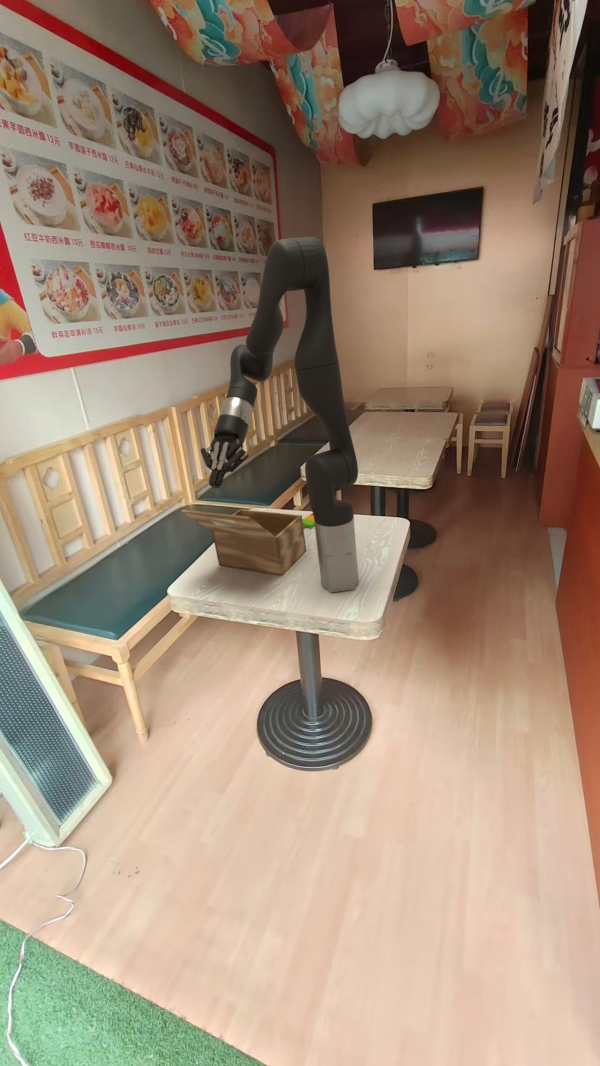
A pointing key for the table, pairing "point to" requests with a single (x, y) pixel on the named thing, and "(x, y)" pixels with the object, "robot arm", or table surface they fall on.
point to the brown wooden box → (263, 544)
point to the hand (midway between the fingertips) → (214, 486)
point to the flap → (229, 524)
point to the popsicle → (309, 521)
